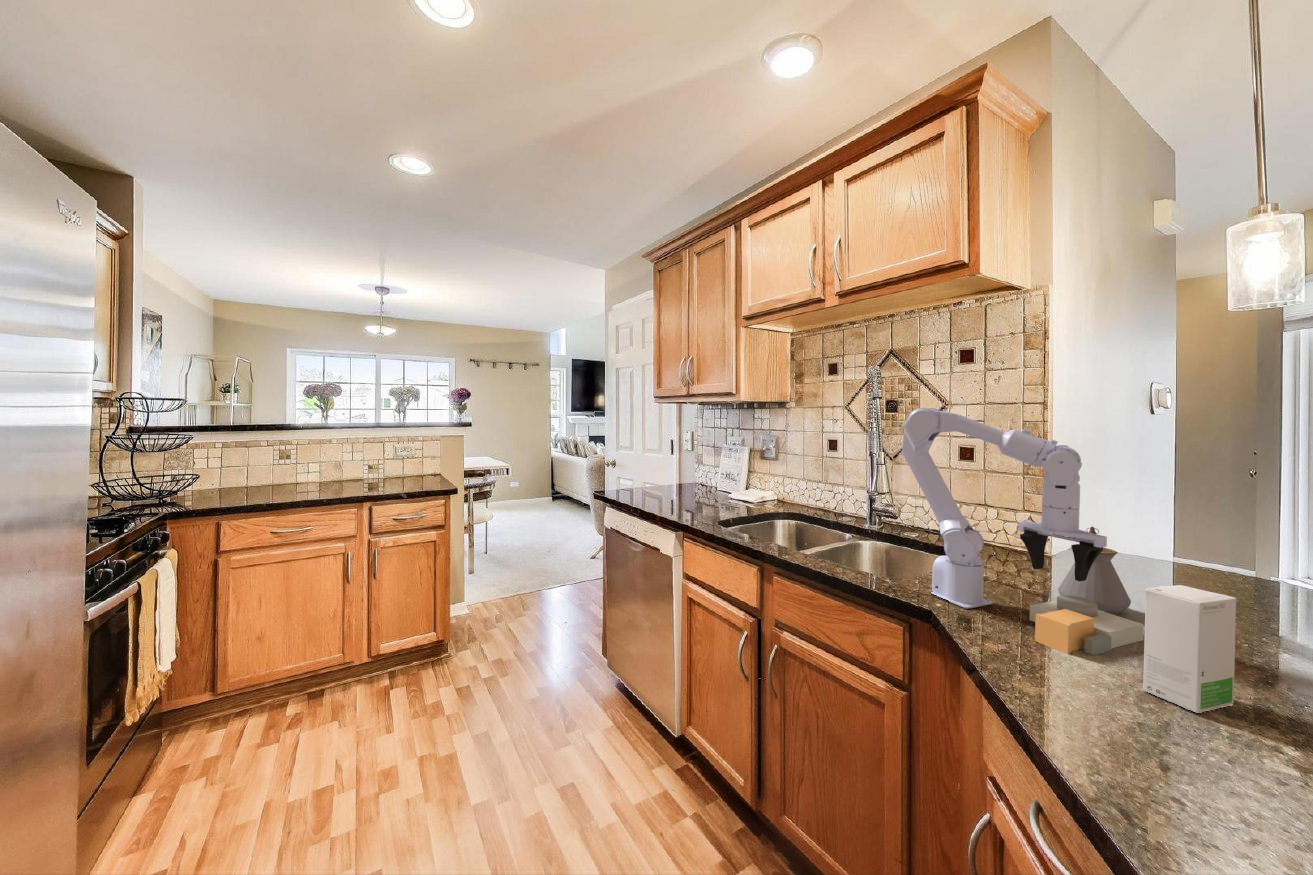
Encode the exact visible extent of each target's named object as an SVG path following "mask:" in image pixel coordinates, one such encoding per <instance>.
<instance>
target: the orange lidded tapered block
mask: <svg viewBox="0 0 1313 875" xmlns="http://www.w3.org/2000/svg"><path fill="white" fill-rule="evenodd" d="M1034 623H1035V629H1034V632H1035V633H1034V641H1035V642H1037V643H1039V644H1042V645H1045V646H1047V647H1049V648H1052V649H1054V650H1056V651H1058V652H1062V653H1065V654H1067V655H1068V654H1069V655H1070V654H1071V652H1075V651H1078V650H1081V649H1084V643H1085V638H1086V637H1091V636H1094V618H1092V617H1089V616H1086V615H1083V614H1080V613H1077V612H1074V611H1071V610H1068V609H1062V610H1058V611H1053V612H1049V613H1044V614H1036V620H1035V622H1034Z"/></svg>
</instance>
